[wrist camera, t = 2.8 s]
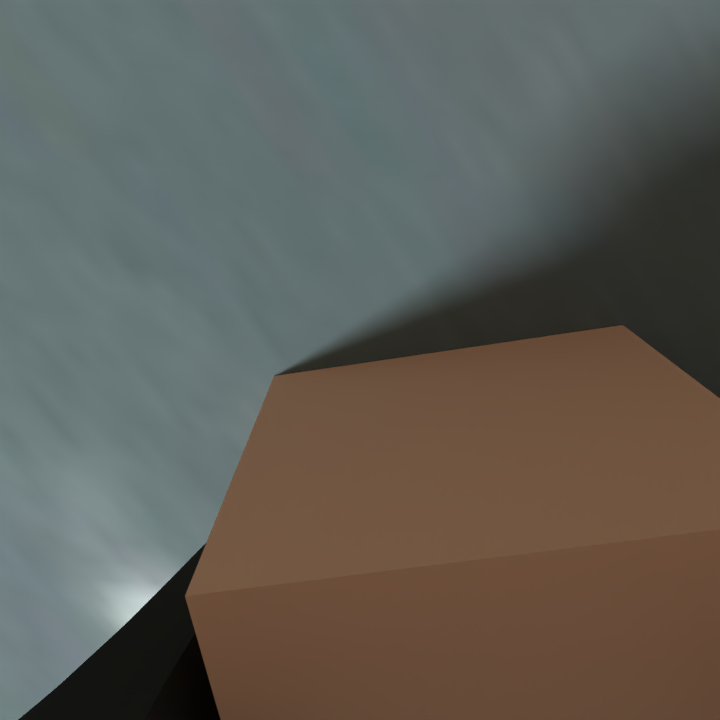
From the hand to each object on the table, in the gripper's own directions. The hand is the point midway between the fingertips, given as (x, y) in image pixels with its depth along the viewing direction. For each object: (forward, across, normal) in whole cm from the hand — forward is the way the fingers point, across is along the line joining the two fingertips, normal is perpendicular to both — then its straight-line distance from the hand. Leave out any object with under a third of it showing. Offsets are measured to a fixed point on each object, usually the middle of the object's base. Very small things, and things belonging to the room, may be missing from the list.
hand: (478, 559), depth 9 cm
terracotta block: (+2, 0, 0) cm, 2 cm away
